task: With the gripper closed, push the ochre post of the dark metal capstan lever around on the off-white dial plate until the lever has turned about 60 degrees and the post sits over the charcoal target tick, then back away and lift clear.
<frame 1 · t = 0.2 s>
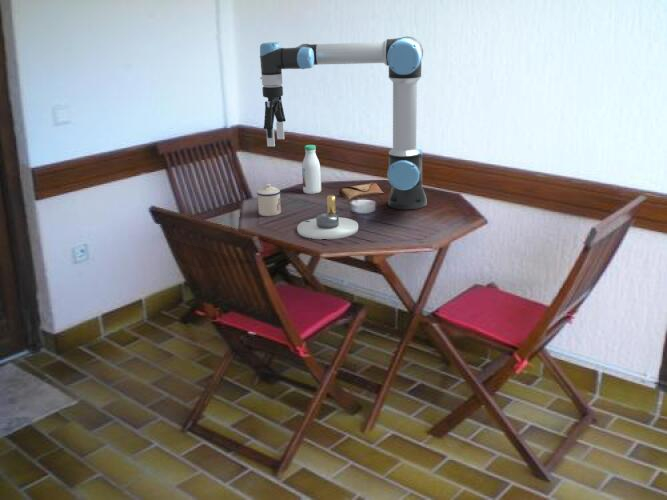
hand: (276, 142, 295), 28 cm above the table, tool pointing down, fingers open, 13 cm apart
dial plate: (327, 229, 281), on the table
teacup with lid: (269, 212, 306), on the table
sunglasses case: (362, 195, 326), on the table
milk bottle: (312, 192, 332), on the table
capstan lever: (328, 211, 282), point 6 cm above the table, hinge at 0.0°
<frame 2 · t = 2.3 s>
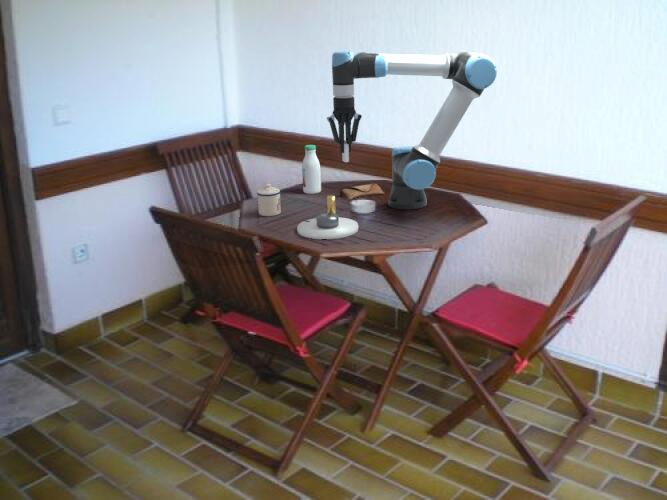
hand: (345, 161, 285), 22 cm above the table, tool pointing down, fingers closed
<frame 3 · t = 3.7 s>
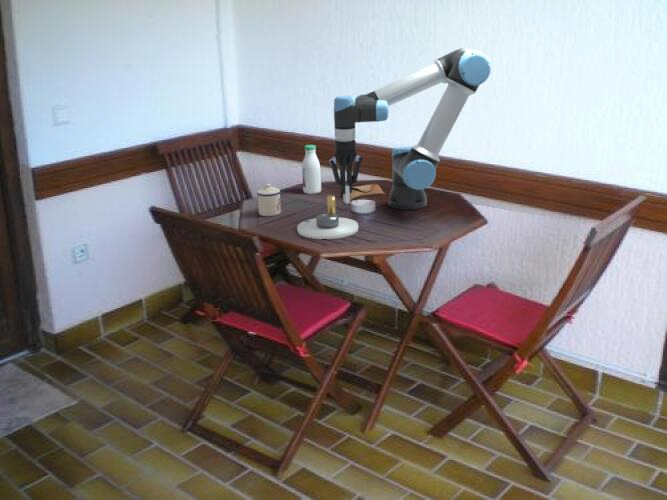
hand: (346, 202, 290), 7 cm above the table, tool pointing down, fingers closed
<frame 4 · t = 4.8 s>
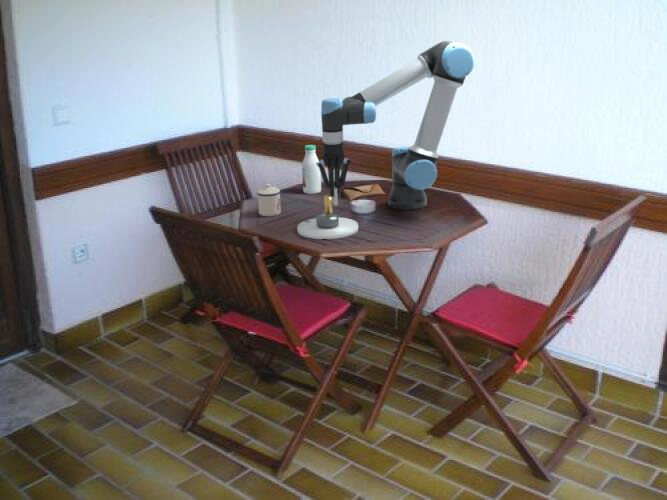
hand: (335, 204, 290), 6 cm above the table, tool pointing down, fingers closed
capstan lever: (327, 211, 282), point 6 cm above the table, hinge at 7.4°, touching gripper
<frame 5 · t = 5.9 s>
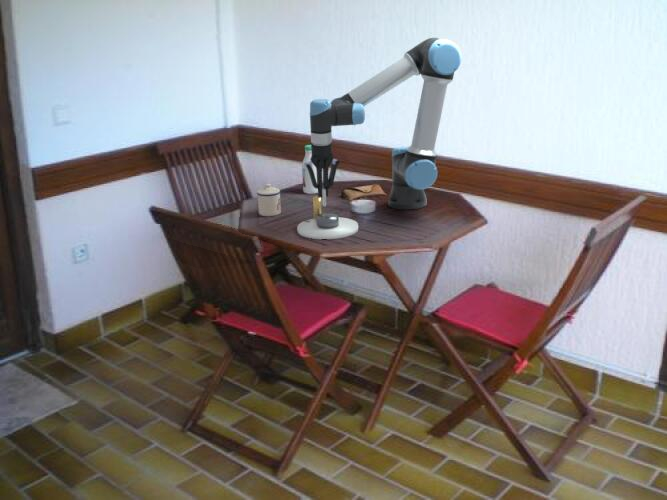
hand: (323, 205, 290), 6 cm above the table, tool pointing down, fingers closed
capstan lever: (323, 211, 282), point 6 cm above the table, hinge at 34.1°, touching gripper
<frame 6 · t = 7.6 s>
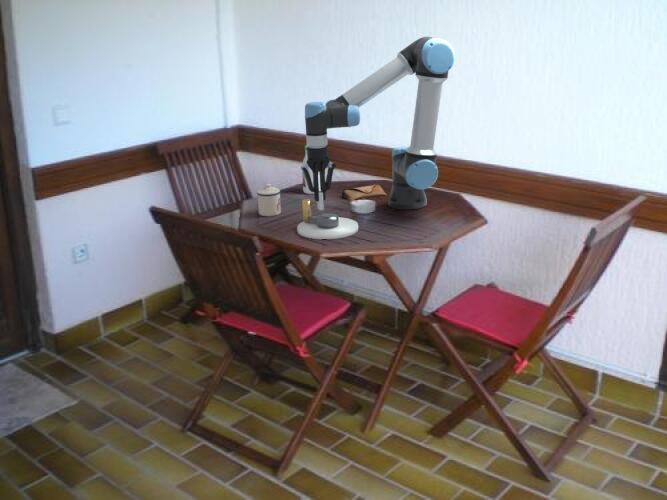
hand: (320, 209, 287), 6 cm above the table, tool pointing down, fingers closed
capstan lever: (319, 212, 281), point 6 cm above the table, hinge at 65.8°
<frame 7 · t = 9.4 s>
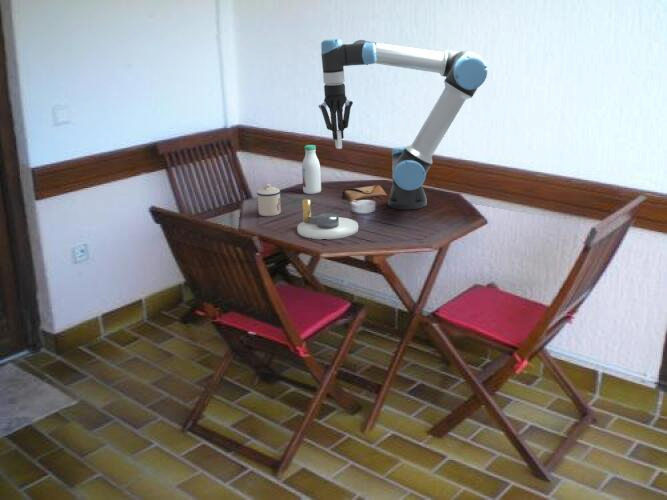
hand: (338, 148, 289), 26 cm above the table, tool pointing down, fingers closed
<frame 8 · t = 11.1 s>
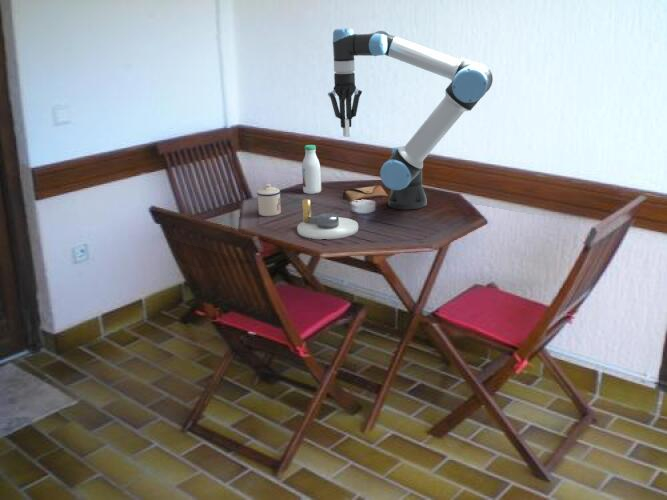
hand: (346, 136, 293), 29 cm above the table, tool pointing down, fingers closed
at the end: capstan lever at +66° (first picture: +0°) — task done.
